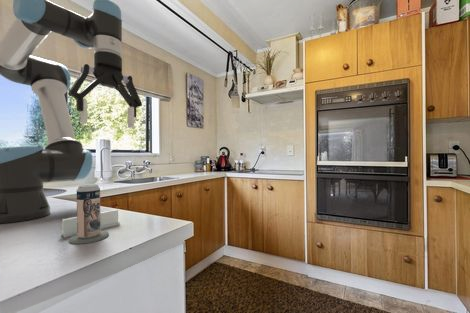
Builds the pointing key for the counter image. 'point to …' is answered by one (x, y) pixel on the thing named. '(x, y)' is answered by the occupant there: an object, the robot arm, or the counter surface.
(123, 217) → the counter surface
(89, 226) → the beer can
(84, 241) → the coaster
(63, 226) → the divider
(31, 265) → the counter surface
